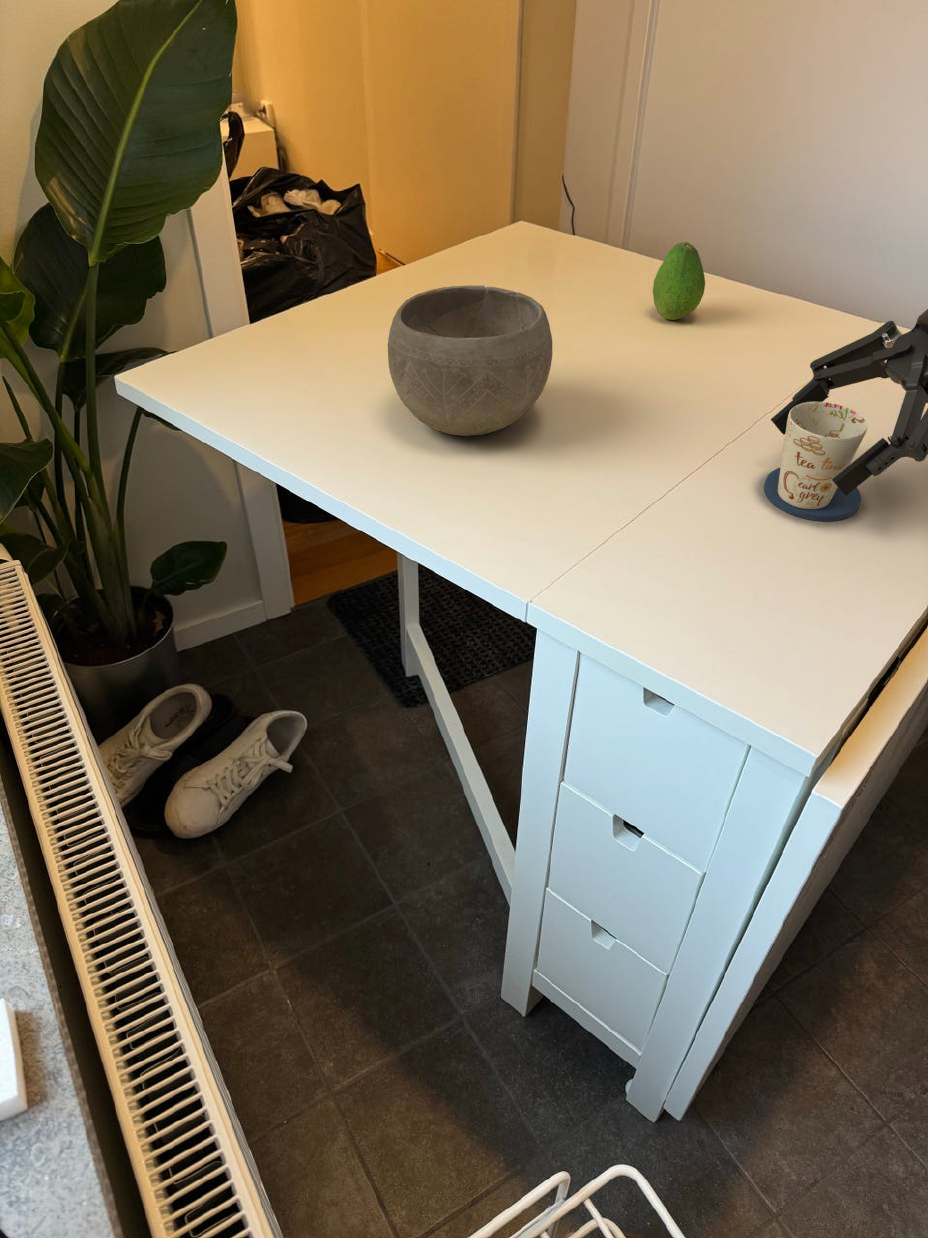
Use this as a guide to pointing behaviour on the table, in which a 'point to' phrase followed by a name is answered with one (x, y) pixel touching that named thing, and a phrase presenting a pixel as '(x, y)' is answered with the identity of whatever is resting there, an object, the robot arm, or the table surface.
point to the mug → (817, 452)
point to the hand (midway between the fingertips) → (806, 456)
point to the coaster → (833, 511)
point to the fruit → (679, 282)
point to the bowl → (469, 357)
